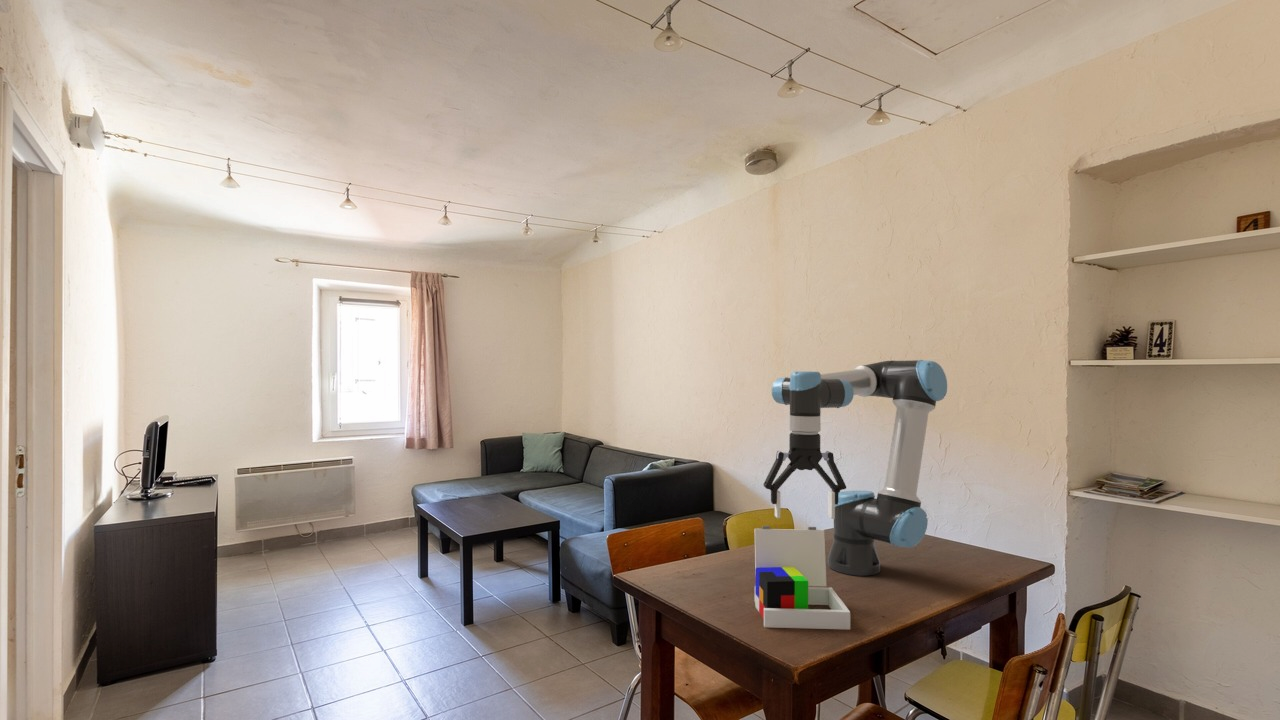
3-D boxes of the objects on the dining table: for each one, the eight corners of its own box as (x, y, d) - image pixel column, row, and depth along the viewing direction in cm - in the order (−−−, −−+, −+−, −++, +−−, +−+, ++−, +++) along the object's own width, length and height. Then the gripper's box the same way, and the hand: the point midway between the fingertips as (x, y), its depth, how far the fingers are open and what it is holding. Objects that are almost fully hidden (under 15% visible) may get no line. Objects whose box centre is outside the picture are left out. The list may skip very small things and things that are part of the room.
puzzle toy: (755, 607, 151) (755, 567, 151) (793, 606, 152) (793, 566, 152) (767, 624, 141) (767, 581, 141) (808, 622, 142) (808, 580, 142)
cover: (826, 586, 153) (825, 585, 154) (824, 527, 156) (823, 527, 157) (756, 584, 154) (755, 584, 155) (754, 526, 157) (754, 525, 158)
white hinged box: (831, 603, 154) (831, 587, 154) (850, 629, 138) (850, 612, 138) (754, 601, 154) (754, 585, 155) (764, 627, 139) (764, 610, 139)
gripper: (848, 431, 153) (848, 513, 153) (752, 430, 153) (751, 513, 153) (859, 434, 146) (859, 521, 146) (758, 433, 146) (758, 520, 145)
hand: (804, 517), depth 149 cm, fingers open, 13 cm apart
